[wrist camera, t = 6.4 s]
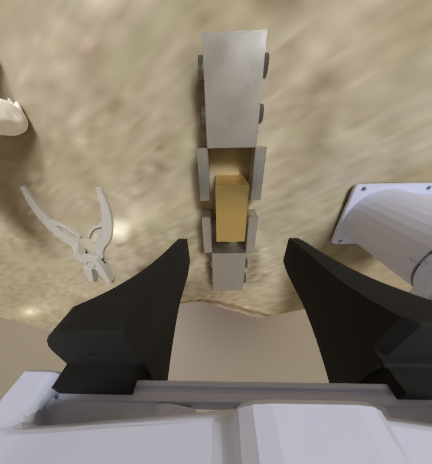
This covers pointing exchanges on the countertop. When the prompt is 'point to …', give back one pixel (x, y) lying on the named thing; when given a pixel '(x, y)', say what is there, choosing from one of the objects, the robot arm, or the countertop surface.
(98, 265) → the pliers
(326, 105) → the countertop surface
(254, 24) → the countertop surface
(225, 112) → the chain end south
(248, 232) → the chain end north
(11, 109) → the dinosaur statue
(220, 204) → the brushed brass bar
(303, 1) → the countertop surface
